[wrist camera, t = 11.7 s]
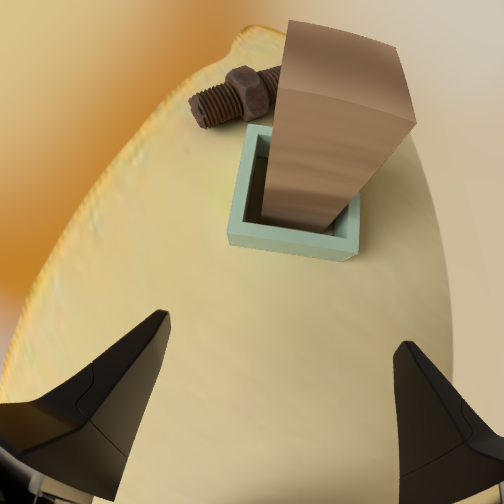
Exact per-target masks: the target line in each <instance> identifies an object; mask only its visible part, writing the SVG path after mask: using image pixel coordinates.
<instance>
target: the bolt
mask: <svg viewBox="0 0 504 504" xmlns="http://www.w3.org/2000/svg"><path fill="white" fill-rule="evenodd" d="M280 72H281V66H276V67H273V68H270V69H266V70H262V71H259V72H255V71H254V70H253V69H251V68H249V67H247V66H242V67H238V68H235V69H232V70H231V71H230V72H229V73H228V74H227V75H226V77H225V82H224V84H222V83H221V84H220V85H216V87H214V86H213V87H212V89H211V88H208V90H204V92H203V91H201V92H200V93H196V95H193V96H192V98H189V100H188V102H189V104H190V106H191V112H192V114H193V115H194V117H195V119H196V121H197V123H198V125H199V126H200V127H201V128H204V129H206V130H207V127H209V128H211V126H213V127H214V125H215V124H216V125H218V124H219V123H221V124H222V122H223V121H224V122H226V120H228V121H229V120H230V119H234V117H236V118H237V117H238V115H239V116H240V118H241V119H242V120H243V121H245V122H249V121H252V120H254V119H257V118H260V117H262V116H264V115H266V114H267V113H268V111H269V106H271V105H272V104H273V105H275V104H276V98H277V91H278V84H279V78H280Z"/></svg>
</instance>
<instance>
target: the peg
mask: <svg viewBox="0 0 504 504" xmlns="http://www.w3.org/2000/svg"><path fill="white" fill-rule="evenodd" d="M415 125H416V118H415V114H414V109H413V106H412V101H411V97H410V94H409V90H408V86H407V82H406V79H405V75H404V72H403V69H402V66H401V63H400V60H399V57H398V54H397V51H396V48H395V47H393V46H390V45H387V44H384V43H381V42H379V41H376V40H372V39H369V38H366V37H363V36H359V35H356V34H353V33H349V32H345V31H342V30H337V29H333V28H329V27H324V26H320V25H315V24H309V23H305V22H299V21H293V20H289V23H288V30H287V35H286V41H285V47H284V53H283V59H282V65H281V72H280V78H279V84H278V91H277V98H276V106H275V114H274V121H273V129H272V137H271V144H270V152H269V159H268V167H267V174H266V182H265V189H264V197H263V204H262V212H261V219H260V224H267V225H273V226H279V227H285V228H292V229H298V230H304V231H309V232H315V233H322V232H323V231H324V230H325V229H326V228H327V226H328V225H329V224H330V223H331V222H332V221H333V220H334V219H335V218H336V217H337V215H338V214H339V213H340V212H341V211H342V210H343V209H344V208H345V207H346V205H347V204H348V203H349V202H350V201H351V200H352V199H353V198H354V196H355V195H356V194H357V193H358V192H359V191H360V190H361V189H362V187H363V186H364V185H365V184H366V183H367V182H368V180H369V179H370V178H371V177H372V176H373V175H374V174H375V172H376V171H377V170H378V169H379V168H380V167H381V165H382V164H383V163H384V162H385V161H386V160H387V158H388V157H389V156H390V155H391V154H392V152H393V151H394V150H395V149H396V148H397V147H398V145H399V144H400V143H401V142H402V141H403V139H404V138H405V137H406V136H407V134H408V133H409V132H410V131H411V130H412V128H413V127H414V126H415Z"/></svg>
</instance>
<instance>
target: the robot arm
mask: <svg viewBox="0 0 504 504" xmlns="http://www.w3.org/2000/svg"><path fill="white" fill-rule="evenodd" d="M170 331H171V322H170V314H169V312H168V311H166V310H161V309H158V310H156V311H155V312H154V313H152V314H151V315H150V316H149V317H147V318H146V319H145V320H144V321H142V322H141V323H140V324H138V325H137V326H136V327H135V328H133V329H132V330H131V331H130V332H128V333H127V334H126V335H125V336H123V337H122V338H121V339H120V340H118V341H117V342H116V343H115V344H113V345H112V346H111V347H110V348H108V349H107V350H106V351H105V352H103V353H102V354H101V355H100V356H98V357H97V358H96V359H95V360H93V361H92V363H90V364H88V365H87V366H86V367H85V368H83V369H82V370H81V371H79V372H78V373H77V374H76V375H74V376H73V377H71V378H70V379H68V380H67V381H65V382H64V383H62V384H61V385H59V386H58V387H56V388H54V389H53V390H51V391H50V392H48V393H46V394H45V395H43V396H42V397H40V398H38V399H36V400H33V401H30V402H22V403H1V404H0V504H92V501H93V498H94V496H96V497H99V498H102V499H105V500H109V501H112V502H114V500H115V497H116V494H117V490H118V487H119V484H120V481H121V478H122V475H123V472H124V469H125V466H126V463H127V460H128V459H127V458H128V456H129V454H130V451H131V448H132V445H133V442H134V439H135V436H136V433H137V431H138V428H139V425H140V422H141V419H142V417H143V414H144V411H145V409H146V406H147V403H148V400H149V398H150V395H151V392H152V390H153V387H154V385H155V382H156V379H157V377H158V374H159V372H160V369H161V366H162V362H163V358H164V354H165V350H166V347H167V343H168V339H169V335H170ZM393 368H394V394H395V403H396V413H397V425H398V440H399V466H400V479H399V504H504V437H501V436H499V435H497V434H496V433H494V432H493V431H492V429H491V428H490V427H489V426H488V425H487V424H486V423H485V422H484V421H483V420H482V419H481V418H480V417H479V416H478V415H477V414H476V413H475V412H474V410H473V409H472V408H471V407H470V406H469V405H468V404H467V402H466V401H465V400H464V399H463V398H462V397H461V395H460V394H459V393H458V392H457V390H456V389H455V388H454V387H453V386H452V385H451V383H450V382H449V381H448V380H447V379H446V378H445V376H444V375H443V374H442V373H441V372H440V371H439V370H438V368H437V367H436V366H435V365H434V364H433V363H432V362H431V361H430V360H429V358H428V357H427V356H426V355H425V354H424V353H423V352H422V351H421V350H420V348H419V347H418V346H417V345H416V344H415V343H414V342H413V341H403V342H402V343H401V344H400V346H399V347H398V349H397V350H396V351H395V353H394V356H393Z"/></svg>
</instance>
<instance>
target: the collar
mask: <svg viewBox="0 0 504 504" xmlns="http://www.w3.org/2000/svg"><path fill="white" fill-rule="evenodd" d="M272 129H273V127H269V126H262V125H254V124H248V126H247V131H246V136H245V140H244V145H243V150H242V155H241V160H240V165H239V170H238V175H237V180H236V185H235V190H234V195H233V200H232V206H231V211H230V216H229V222H228V227H227V237H228V240H229V244H230V245H235V246H242V247H248V248H255V249H261V250H268V251H275V252H281V253H288V254H294V255H301V256H307V257H314V258H320V259H327V260H333V261H339V262H344V261H345V260H347V259H349V258H351V257H353V256H355V255H356V254H358V249H359V229H360V191H359V192H358V193H357V194H356V195H355V196H354V198H353V199H352V200H351V201H350V202H349V203H348V204H347V205H346V207H345V208H344V209H343V210H342V211H341V212H340V213H339V214H338V215H337V217H336V218H335V231H334V236H329V235H323V234H317V233H311V232H305V231H298V230H292V229H286V228H280V227H273V226H267V225H260V224H254V223H247V222H245V221H246V215H247V209H248V203H249V197H250V191H251V186H252V180H253V174H254V168H255V163H256V157H257V156H259V157H266V158H269V152H270V144H271V137H272Z"/></svg>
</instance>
